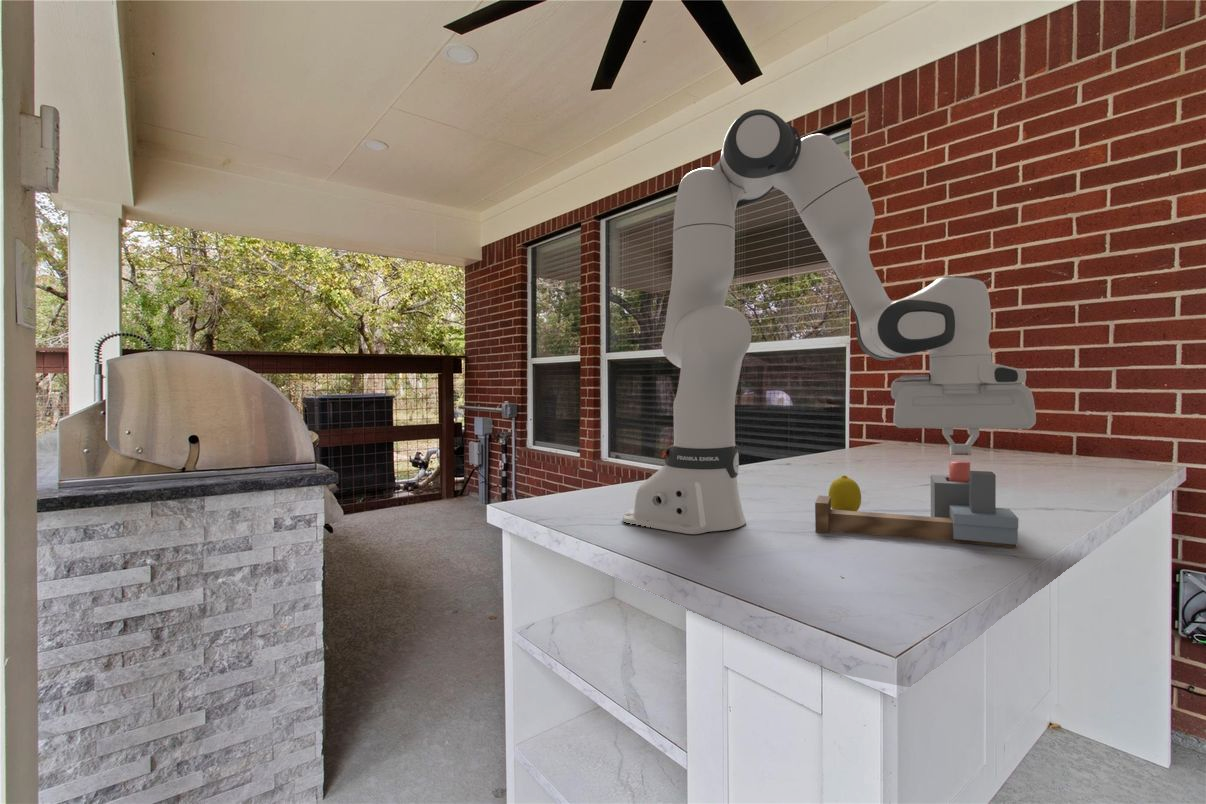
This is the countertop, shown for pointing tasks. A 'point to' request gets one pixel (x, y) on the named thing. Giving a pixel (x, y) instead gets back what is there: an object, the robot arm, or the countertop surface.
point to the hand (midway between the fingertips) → (960, 454)
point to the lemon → (845, 494)
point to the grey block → (947, 495)
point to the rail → (886, 524)
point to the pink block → (959, 471)
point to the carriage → (983, 513)
